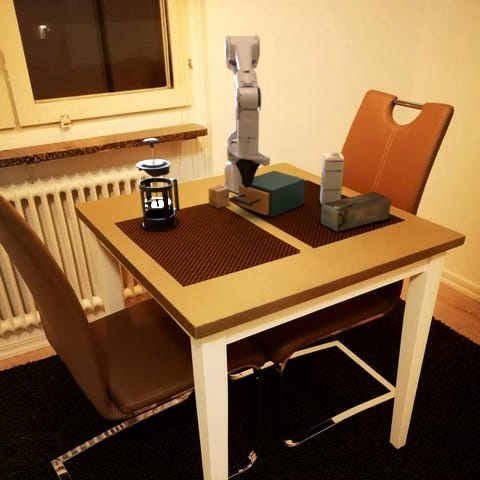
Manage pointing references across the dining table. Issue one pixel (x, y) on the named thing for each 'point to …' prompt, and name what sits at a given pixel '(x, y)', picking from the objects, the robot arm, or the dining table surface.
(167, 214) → the french press
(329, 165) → the syrup box
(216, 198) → the block
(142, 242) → the dining table surface
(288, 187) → the cabinet
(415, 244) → the dining table surface
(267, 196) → the drawer
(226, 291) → the dining table surface
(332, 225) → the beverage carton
